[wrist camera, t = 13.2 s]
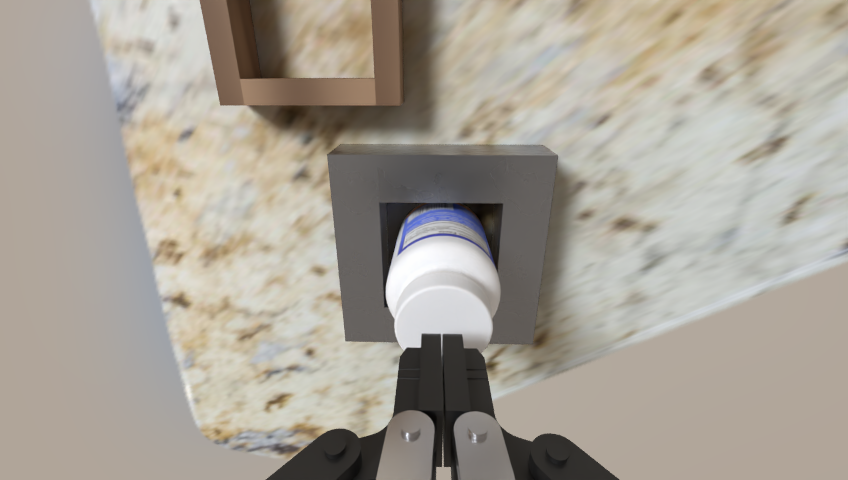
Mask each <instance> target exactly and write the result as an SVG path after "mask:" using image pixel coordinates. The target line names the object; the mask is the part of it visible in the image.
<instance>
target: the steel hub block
mask: <svg viewBox="0 0 848 480" xmlns="http://www.w3.org/2000/svg"><path fill="white" fill-rule="evenodd" d="M327 157H328V168H329V178H330V188H331V198H332V208H333V218H334V228H335V238H336V249H337V259H338V269H339V279H340V289H341V299H342V309H343V319H344V329H345V340H346V341H358V342H398V341H397V338H396V334H395V328H394V323H395V319H394V317H393V316H392V314H391V312H390V310H389V307H388V304H387V300H386V283H387V278H388V273H389V254H388V229H387V205H386V203H494V211H493V224H492V238H491V255H492V258H493V261H494V264H495V267H496V270H497V273H498V277H499V282H500V289H501V293H500V302H499V305H498V308H497V311H496V313H495V315H494V317H493V318H492V320H493V332H492V336H491V339H490V342H489V344H533V338H534V331H535V323H536V316H537V308H538V301H539V294H540V286H541V279H542V271H543V264H544V257H545V249H546V242H547V234H548V227H549V219H550V212H551V205H552V197H553V190H554V182H555V175H556V168H557V160H558V155H557V154H555V153H554V152H552V151H551V150H549V149H548V148H546V147H545V146H543V145H391V144H340V145H339V146H338V147H336V148H335V149H334V150H332V151H331V152H330V153H329V154H327Z"/></svg>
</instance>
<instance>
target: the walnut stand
mask: <svg viewBox="0 0 848 480" xmlns="http://www.w3.org/2000/svg"><path fill="white" fill-rule="evenodd" d="M200 4H201V9H202V14H203V19H204V24H205V29H206V34H207V40H208V45H209V50H210V55H211V60H212V65H213V70H214V75H215V80H216V85H217V90H218V95H219V100H220V105H388V106H400V105H401V104H403V103H404V68H403V18H402V0H371V11H372V32H373V53H374V74H375V78H261V74H260V67H259V61H258V54H257V48H256V41H255V35H254V28H253V22H252V15H251V9H250V2H249V0H200Z"/></svg>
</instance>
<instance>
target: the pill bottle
mask: <svg viewBox="0 0 848 480" xmlns="http://www.w3.org/2000/svg"><path fill="white" fill-rule="evenodd" d="M500 293H501V289H500V282H499V277H498V273H497V270H496V267H495V264H494V261H493V258H492V255H491V252H490V249H489V245H488V242H487V238H486V235H485V232H484V229H483V226H482V224H481V222H480V220H479V218H478V217H477V216H476V214H475V213H474V212H473V211H472V210H471V209H470V208H468V207H467V206H465V205H464V204H462V203H421V204H420V205H418V206H416V207H415V208H414V209H413V210H411V212H410V213H409V214H408V215H407V216H406V217H405V219H404V220H403V222H402V224H401V227H400V230H399V233H398V236H397V241H396V246H395V250H394V254H393V258H392V262H391V266H390V270H389V273H388V278H387V283H386V300H387V304H388V307H389V310H390V312H391V314H392V316H393V317H394V319H395V323H394V328H395V334H396V338H397V341H398V343H399V345H400V346H401V348H402V349H403V350H404V351H405V349H406V348H407V347H412V348H421V334H422V333H426V334H441V350H442V335H443V334H462V336H463V344H464V348H477V349H478V350H479V352H480V353H482V352H483V351H484V350H485V349H486V347H487V346H488V344H489V342H490V339H491V336H492V332H493V320H492V318H493V317H494V315H495V313H496V311H497V308H498V305H499V302H500Z"/></svg>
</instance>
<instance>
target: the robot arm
mask: <svg viewBox="0 0 848 480" xmlns="http://www.w3.org/2000/svg"><path fill="white" fill-rule="evenodd" d="M442 441H443V450H444V467H451V478H452V480H619V479H618V478H617V477H615V476H614V475H613V474H611V473H610V472H609V471H608V470H606V469H605V468H604V467H603V466H601V465H600V464H599V463H598V462H596V461H595V460H594V459H593V458H591V457H590V456H589V455H588V454H586V453H585V452H584V451H583V450H581V449H580V448H579V447H578V446H576V445H575V444H574V443H573V442H571V441H570V440H568V439H567V438H565V437H563V436H560V435H556V434H543V435H540V436H538V437H536V438H535V439H534V441H533V442H531V441H528V440H524V439H521V438H518V437H516V436H513V435H511V434H509V433H508V432H506V431H505V430H504V429H503V428H502V427H501V426H500V425H499V423H498V422H497V420H496V418H495V414H494V409H493V403H492V398H491V392H490V386H489V381H488V375H487V372H486V364H485V359H484V357H483V356H482V354H481V353H480V352H479V350H478V349H477V348H464V344H463V336H462V334H443V335H442V350H441V334H426V333H422V334H421V348H412V347H407V348H406V349H405V351H404V352H403V354H402V355H401V356H400V362H399V370H398V379H397V388H396V396H395V405H394V413H393V417H392V419H391V420H390V422H389V424H388V425H387V426H386V427H385V428H384V429H383V430H381V431H380V432H378V433H375V434H373V435H369V436H366V437H362V438H358V437H357V435H356V434H355V433H353V432H352V431H350V430H346V429H334V430H330V431H327V432H326V433H324V434H322V435H321V436H319V437H318V438H317V439H316V440H314V441H313V442H312V443H311V444H309V445H308V446H307V447H306V448H304V449H303V450H302V451H301V452H300V453H298V454H297V455H296V456H295V457H293V458H292V459H291V460H290V461H288V462H287V463H286V464H285V465H283V466H282V467H281V468H280V469H278V470H277V471H276V472H275V473H274V474H272V475H271V476H270V477H269V478H267V479H266V480H436V467H442Z"/></svg>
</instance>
